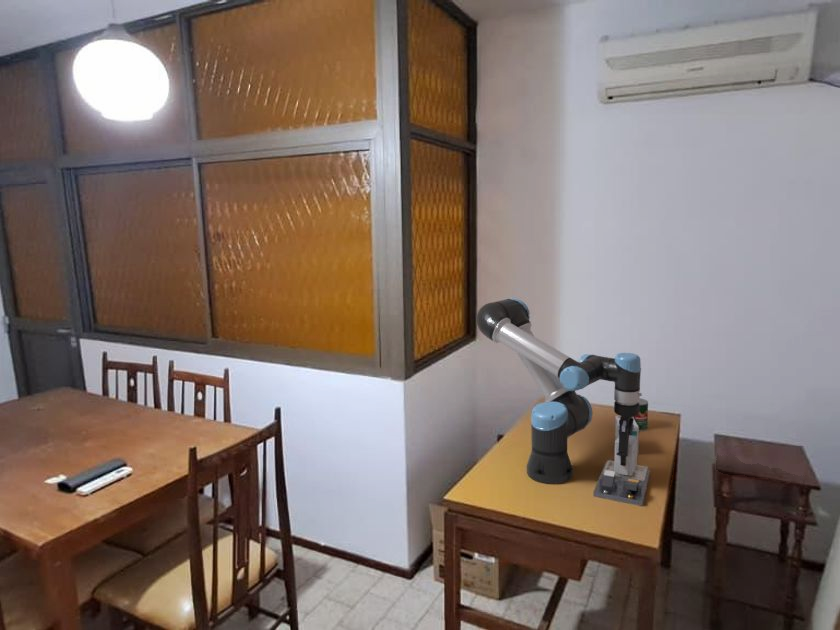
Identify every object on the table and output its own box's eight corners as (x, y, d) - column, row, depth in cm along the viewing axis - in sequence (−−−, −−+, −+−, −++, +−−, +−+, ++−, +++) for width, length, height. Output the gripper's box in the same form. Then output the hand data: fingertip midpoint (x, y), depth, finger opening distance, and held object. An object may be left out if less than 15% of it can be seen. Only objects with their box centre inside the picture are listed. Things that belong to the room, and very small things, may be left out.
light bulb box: (638, 455, 190) (639, 426, 188) (618, 454, 191) (619, 426, 189) (633, 443, 200) (633, 415, 198) (614, 442, 201) (614, 415, 199)
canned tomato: (633, 422, 220) (634, 396, 218) (651, 427, 214) (652, 401, 212) (622, 426, 216) (623, 400, 214) (640, 432, 209) (640, 405, 207)
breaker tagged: (636, 490, 159) (636, 484, 159) (625, 488, 160) (625, 482, 160) (638, 486, 165) (639, 480, 165) (628, 484, 166) (628, 478, 166)
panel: (642, 506, 157) (642, 493, 156) (593, 496, 163) (593, 484, 163) (649, 473, 176) (650, 462, 175) (605, 466, 182) (605, 455, 182)
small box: (619, 462, 179) (620, 432, 177) (637, 465, 175) (638, 435, 174) (613, 472, 172) (614, 441, 170) (631, 476, 169) (632, 444, 167)
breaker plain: (611, 491, 163) (611, 486, 162) (601, 489, 164) (601, 484, 163) (615, 476, 168) (615, 471, 167) (605, 474, 170) (605, 469, 169)
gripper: (635, 414, 159) (633, 484, 163) (643, 393, 177) (641, 457, 181) (609, 410, 162) (607, 479, 166) (619, 390, 181) (617, 453, 185)
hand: (625, 467), depth 174 cm, fingers closed on small box, 8 cm apart
